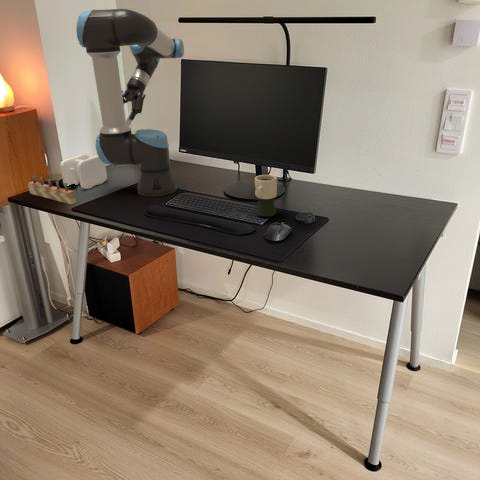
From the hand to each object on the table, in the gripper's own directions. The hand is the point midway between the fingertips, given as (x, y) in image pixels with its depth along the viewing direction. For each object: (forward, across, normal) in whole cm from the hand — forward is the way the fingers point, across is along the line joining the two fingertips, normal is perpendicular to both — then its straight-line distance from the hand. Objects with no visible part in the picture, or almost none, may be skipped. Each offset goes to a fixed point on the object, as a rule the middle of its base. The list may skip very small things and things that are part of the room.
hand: (116, 124), depth 208 cm
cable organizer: (+29, 0, -1) cm, 29 cm away
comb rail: (+42, -2, +12) cm, 43 cm away
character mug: (+24, -83, -6) cm, 87 cm away
